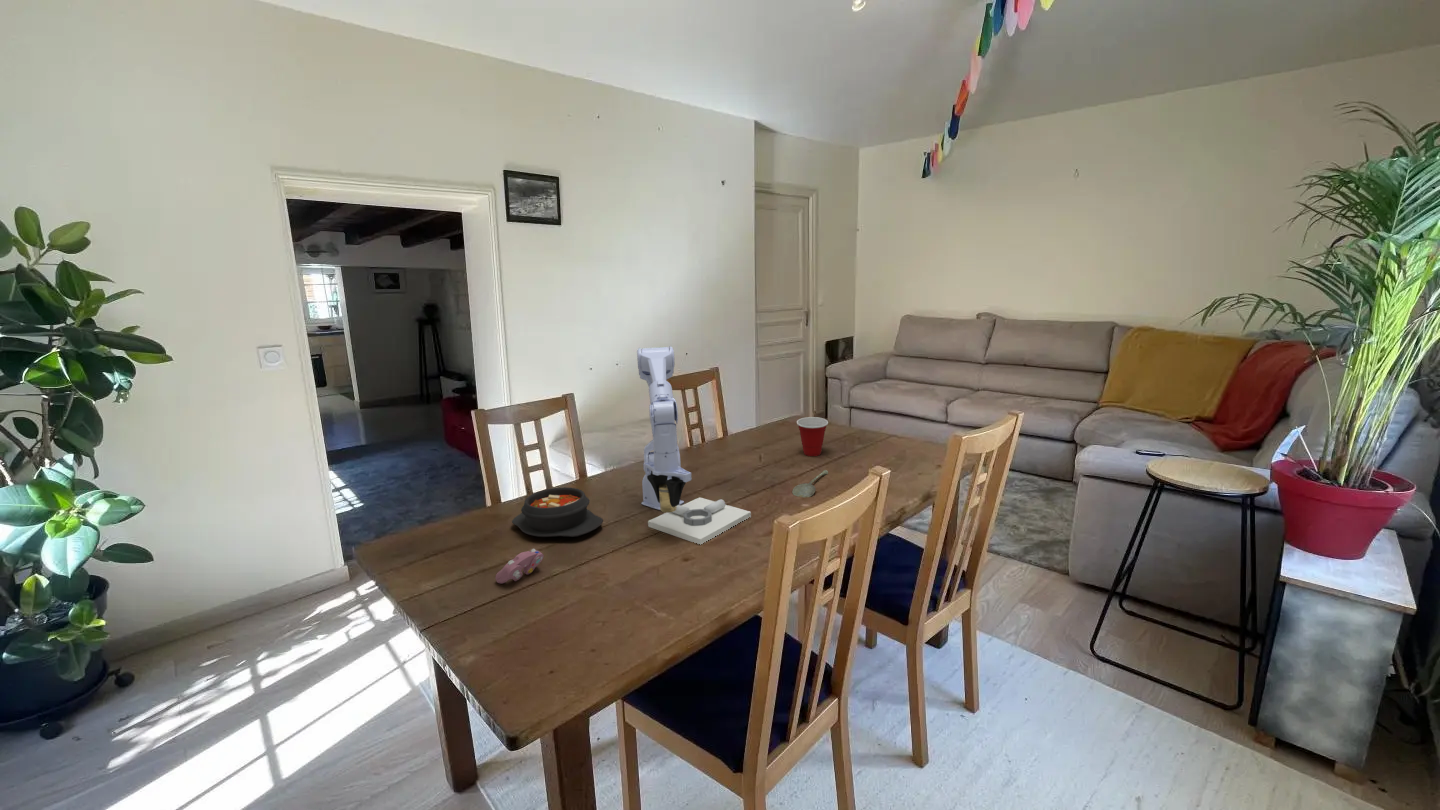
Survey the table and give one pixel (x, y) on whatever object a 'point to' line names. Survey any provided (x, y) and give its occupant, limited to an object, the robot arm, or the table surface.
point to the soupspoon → (806, 487)
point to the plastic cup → (812, 434)
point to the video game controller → (519, 566)
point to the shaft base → (699, 531)
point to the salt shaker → (665, 499)
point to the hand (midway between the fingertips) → (668, 503)
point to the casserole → (557, 514)
